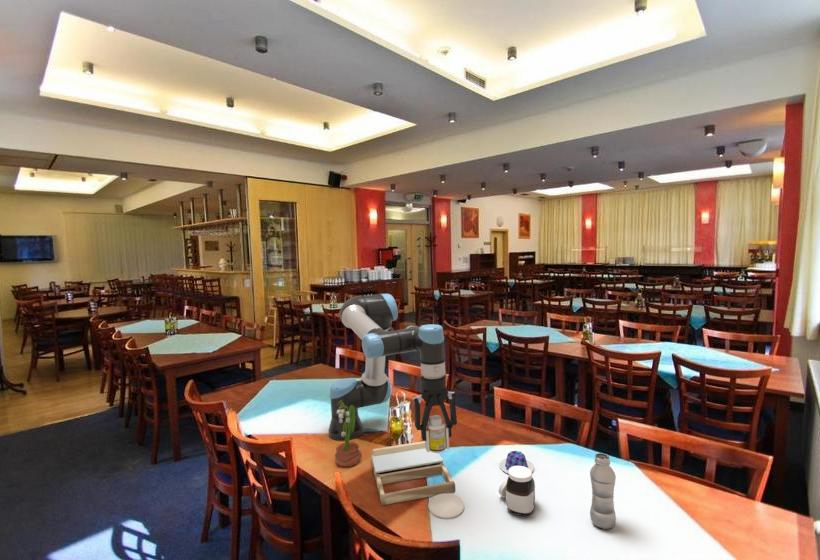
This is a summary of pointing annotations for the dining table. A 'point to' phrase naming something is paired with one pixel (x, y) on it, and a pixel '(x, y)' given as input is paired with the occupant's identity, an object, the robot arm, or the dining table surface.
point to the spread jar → (519, 490)
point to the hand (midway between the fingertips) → (437, 448)
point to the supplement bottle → (436, 434)
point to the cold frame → (415, 492)
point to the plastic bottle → (602, 492)
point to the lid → (403, 457)
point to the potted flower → (347, 439)
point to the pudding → (515, 461)
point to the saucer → (446, 506)
